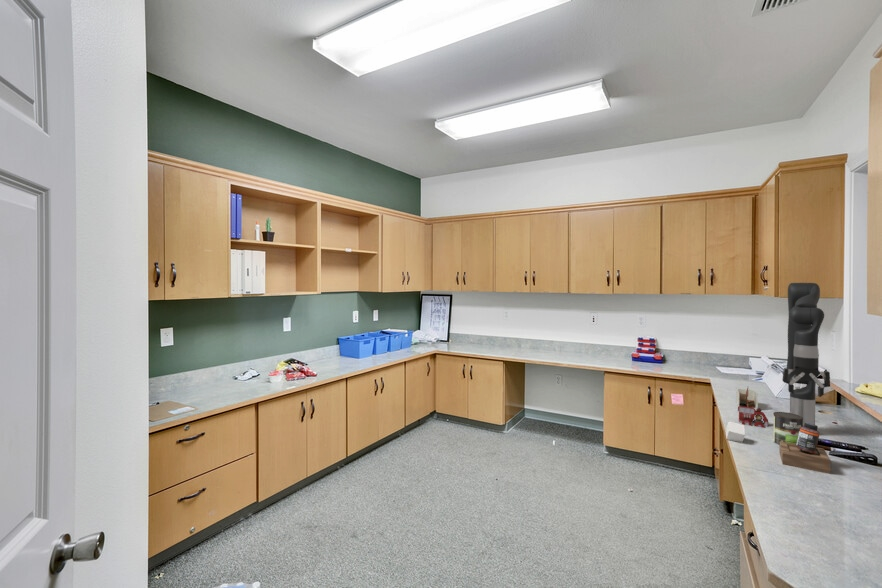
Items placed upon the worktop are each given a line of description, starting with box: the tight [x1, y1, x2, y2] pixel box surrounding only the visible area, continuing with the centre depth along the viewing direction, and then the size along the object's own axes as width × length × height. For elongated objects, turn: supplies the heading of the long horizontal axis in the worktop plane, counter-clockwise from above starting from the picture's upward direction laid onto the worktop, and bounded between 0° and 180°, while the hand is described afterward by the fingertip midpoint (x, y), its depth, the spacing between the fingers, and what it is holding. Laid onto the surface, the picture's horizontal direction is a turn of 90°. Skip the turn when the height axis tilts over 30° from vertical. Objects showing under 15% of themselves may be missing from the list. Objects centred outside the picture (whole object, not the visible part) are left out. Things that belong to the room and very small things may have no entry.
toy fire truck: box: [737, 405, 769, 429], centre depth 203 cm, size 7×12×10 cm, turn 56°
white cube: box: [725, 421, 746, 443], centre depth 184 cm, size 6×6×6 cm
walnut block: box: [778, 441, 831, 475], centre depth 161 cm, size 14×14×6 cm
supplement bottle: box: [796, 422, 820, 453], centre depth 161 cm, size 6×6×11 cm
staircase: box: [735, 387, 759, 410], centre depth 230 cm, size 9×11×17 cm
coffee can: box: [772, 411, 803, 446], centre depth 179 cm, size 10×10×14 cm
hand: (805, 395), depth 161 cm, fingers open, 8 cm apart
